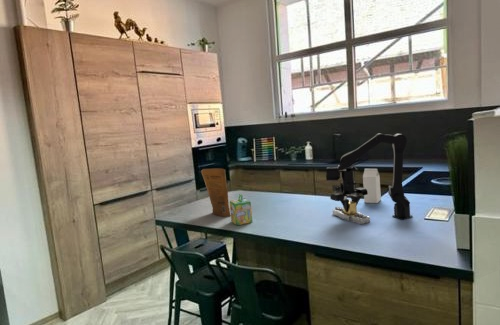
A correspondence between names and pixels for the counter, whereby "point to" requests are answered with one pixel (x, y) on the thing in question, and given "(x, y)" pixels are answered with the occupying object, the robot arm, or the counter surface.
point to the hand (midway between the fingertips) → (350, 211)
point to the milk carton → (371, 185)
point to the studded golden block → (351, 208)
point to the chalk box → (241, 211)
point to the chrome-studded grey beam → (355, 218)
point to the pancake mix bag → (217, 190)
